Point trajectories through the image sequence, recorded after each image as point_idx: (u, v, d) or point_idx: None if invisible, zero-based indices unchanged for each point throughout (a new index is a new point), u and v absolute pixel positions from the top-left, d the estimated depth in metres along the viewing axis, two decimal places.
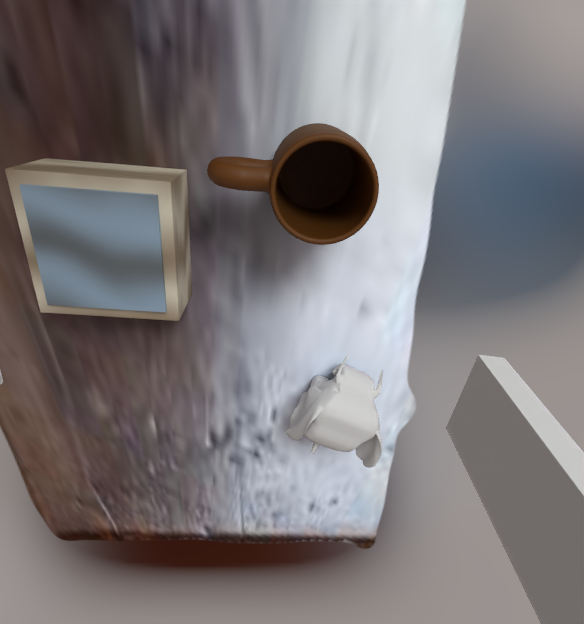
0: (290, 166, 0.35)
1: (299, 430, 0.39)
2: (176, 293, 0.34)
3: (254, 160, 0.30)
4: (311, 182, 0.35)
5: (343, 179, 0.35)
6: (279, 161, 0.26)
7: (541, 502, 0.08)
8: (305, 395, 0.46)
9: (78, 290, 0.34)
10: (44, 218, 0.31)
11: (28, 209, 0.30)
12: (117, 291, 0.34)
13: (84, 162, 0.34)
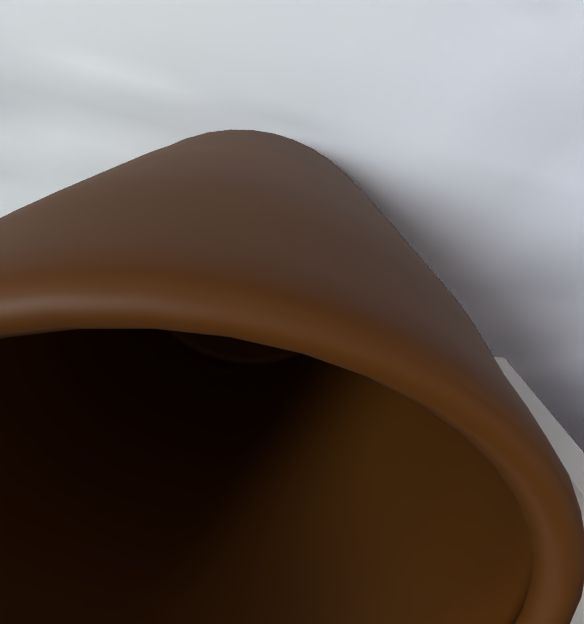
0: None
1: None
2: None
3: None
4: None
5: None
6: None
7: None
8: None
9: None
10: None
11: None
12: None
13: None
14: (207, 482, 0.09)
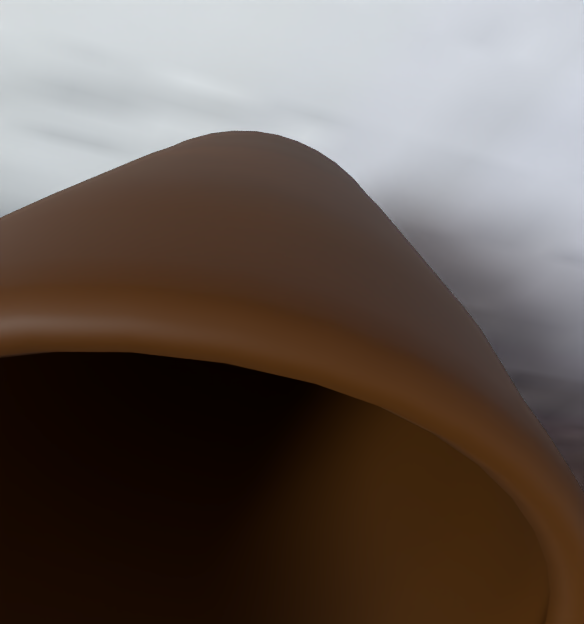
0: None
1: None
2: None
3: None
4: None
5: None
6: None
7: None
8: None
9: None
10: None
11: None
12: None
13: None
14: (207, 490, 0.09)
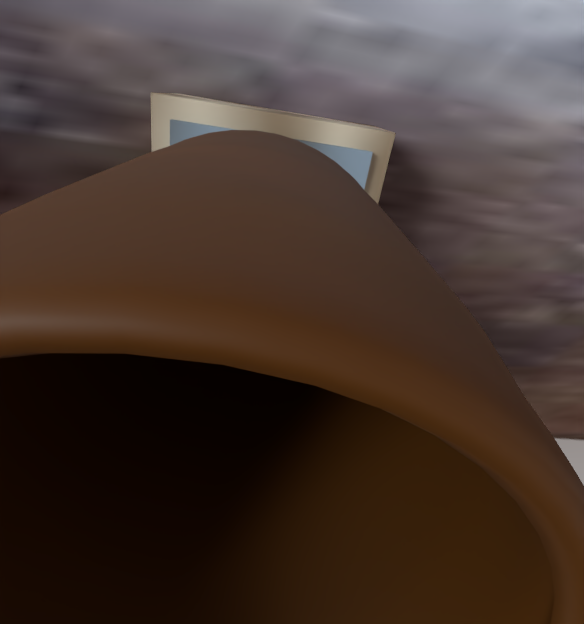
0: None
1: None
2: (342, 125, 0.20)
3: None
4: None
5: None
6: None
7: None
8: None
9: None
10: None
11: None
12: None
13: None
14: (206, 491, 0.09)
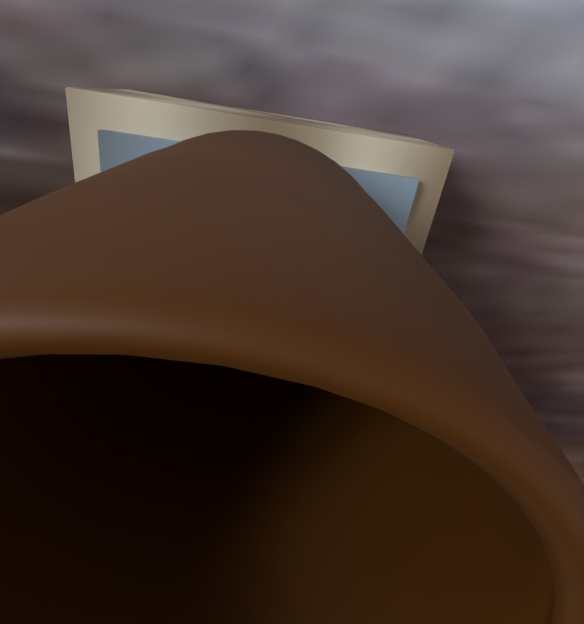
0: None
1: None
2: (371, 139, 0.13)
3: None
4: None
5: None
6: None
7: None
8: None
9: None
10: None
11: None
12: None
13: None
14: (206, 491, 0.09)
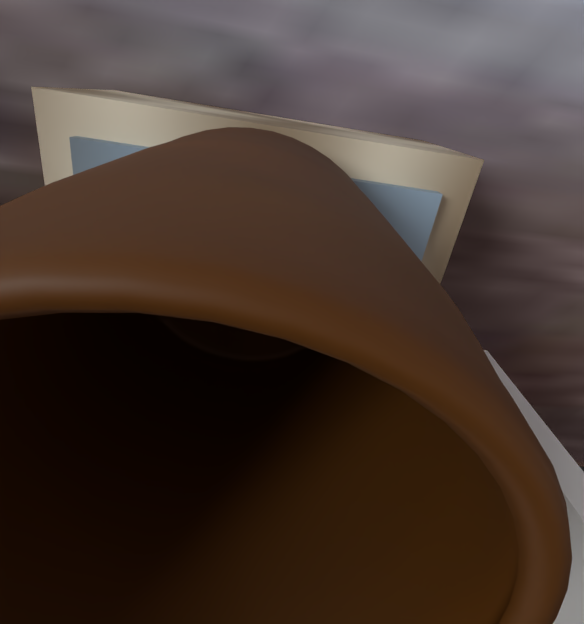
0: (237, 330, 0.13)
1: None
2: (388, 147, 0.11)
3: None
4: None
5: None
6: None
7: None
8: None
9: None
10: None
11: None
12: None
13: None
14: (203, 478, 0.09)
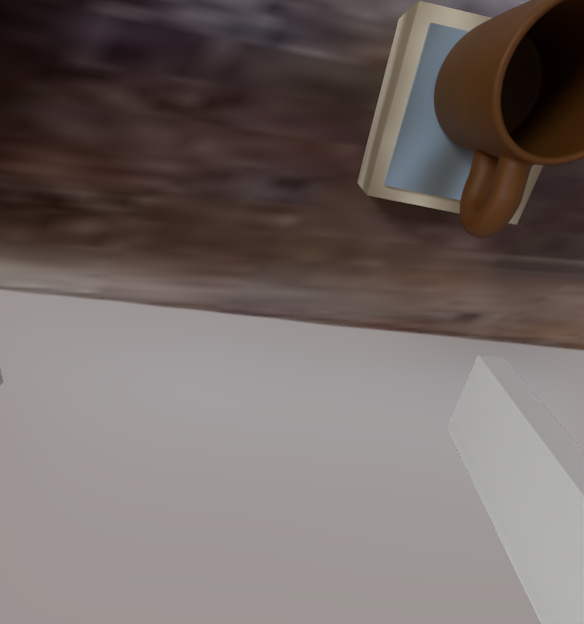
0: None
1: None
2: None
3: (473, 175, 0.24)
4: (501, 97, 0.27)
5: None
6: (508, 146, 0.20)
7: (541, 502, 0.08)
8: None
9: None
10: (421, 173, 0.29)
11: (409, 186, 0.29)
12: None
13: (368, 140, 0.33)
14: None
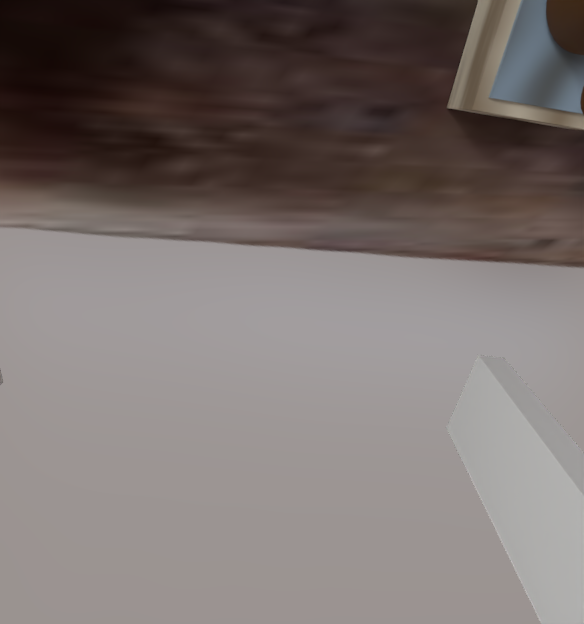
0: None
1: None
2: None
3: None
4: None
5: None
6: None
7: (541, 502, 0.08)
8: None
9: None
10: (527, 83, 0.30)
11: (514, 97, 0.31)
12: None
13: (462, 62, 0.34)
14: None
